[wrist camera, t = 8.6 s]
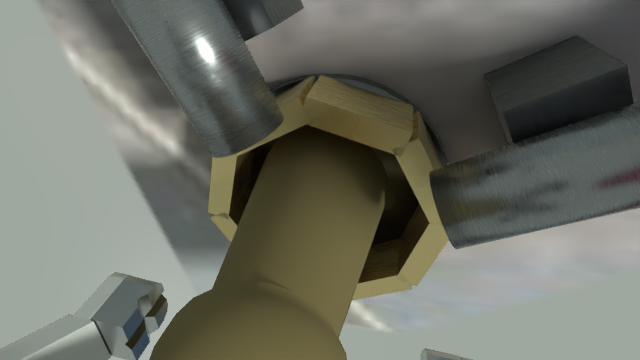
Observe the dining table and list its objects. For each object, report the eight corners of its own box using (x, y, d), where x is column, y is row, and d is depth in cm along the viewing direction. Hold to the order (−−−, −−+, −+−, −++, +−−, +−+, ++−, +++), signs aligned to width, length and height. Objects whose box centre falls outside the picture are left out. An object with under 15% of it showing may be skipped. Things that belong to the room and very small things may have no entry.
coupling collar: (225, 219, 21) (200, 257, 18) (248, 39, 15) (215, 60, 12) (396, 280, 20) (393, 326, 18) (494, 122, 14) (510, 159, 12)
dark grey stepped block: (171, -40, 13) (38, -27, 9) (258, -98, 12) (152, -123, 7) (251, 102, 16) (182, 172, 11) (330, 69, 14) (289, 135, 10)
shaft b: (594, 27, 12) (716, 88, 7) (614, 128, 13) (725, 234, 9) (419, 102, 14) (421, 183, 10) (453, 179, 16) (469, 281, 11)
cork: (240, 178, 18) (65, 414, 9) (318, 97, 15) (164, 346, 6) (328, 250, 19) (252, 516, 10) (417, 191, 16) (416, 507, 7)
